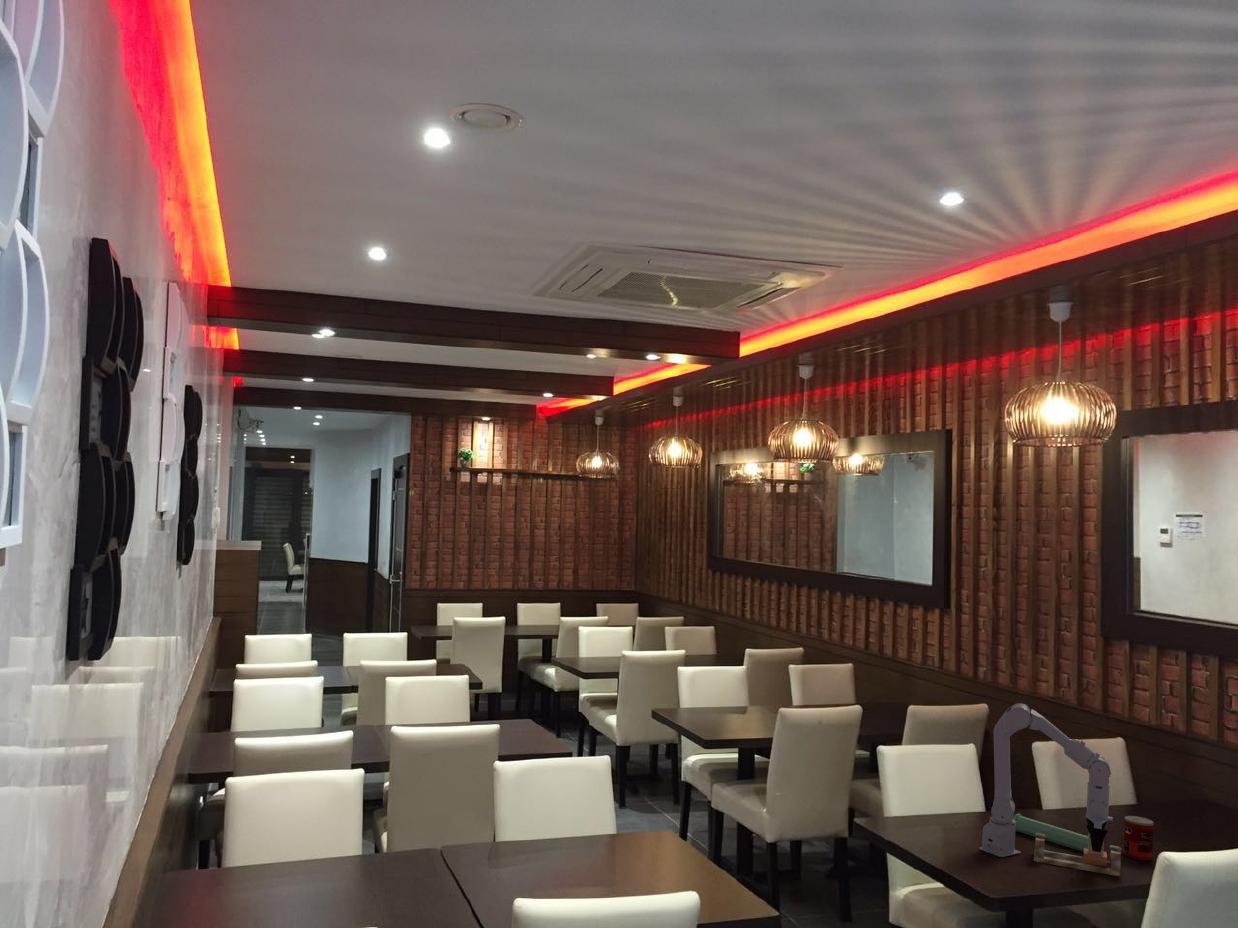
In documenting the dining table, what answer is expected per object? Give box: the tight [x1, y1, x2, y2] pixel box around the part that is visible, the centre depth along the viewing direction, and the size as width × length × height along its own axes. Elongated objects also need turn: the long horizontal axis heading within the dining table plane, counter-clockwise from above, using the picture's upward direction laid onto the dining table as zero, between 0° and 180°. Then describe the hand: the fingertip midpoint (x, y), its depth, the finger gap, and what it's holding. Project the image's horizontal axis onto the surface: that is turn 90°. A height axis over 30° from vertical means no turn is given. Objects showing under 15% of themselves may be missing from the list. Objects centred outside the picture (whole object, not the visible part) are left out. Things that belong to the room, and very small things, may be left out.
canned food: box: [1123, 815, 1155, 861], centre depth 309 cm, size 8×8×11 cm
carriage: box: [1083, 832, 1108, 867], centre depth 295 cm, size 6×6×8 cm
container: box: [1013, 813, 1088, 853], centre depth 318 cm, size 6×6×25 cm
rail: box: [1033, 833, 1123, 877], centre depth 297 cm, size 23×8×7 cm, turn 66°
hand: (1096, 847), depth 295 cm, fingers open, 7 cm apart
